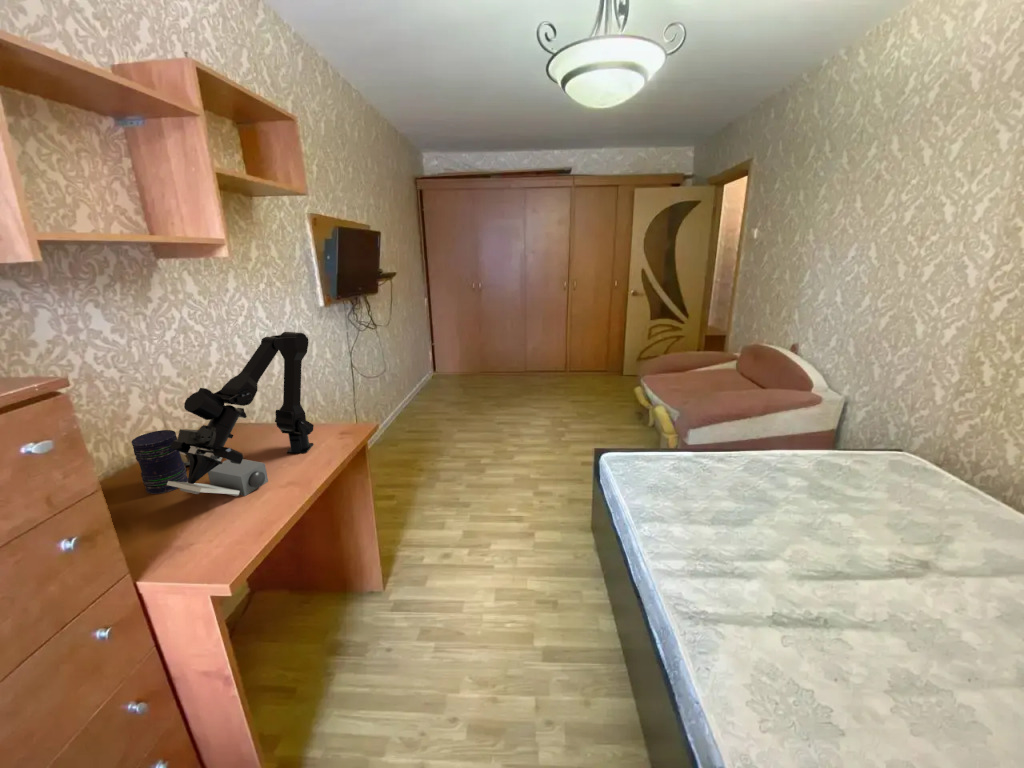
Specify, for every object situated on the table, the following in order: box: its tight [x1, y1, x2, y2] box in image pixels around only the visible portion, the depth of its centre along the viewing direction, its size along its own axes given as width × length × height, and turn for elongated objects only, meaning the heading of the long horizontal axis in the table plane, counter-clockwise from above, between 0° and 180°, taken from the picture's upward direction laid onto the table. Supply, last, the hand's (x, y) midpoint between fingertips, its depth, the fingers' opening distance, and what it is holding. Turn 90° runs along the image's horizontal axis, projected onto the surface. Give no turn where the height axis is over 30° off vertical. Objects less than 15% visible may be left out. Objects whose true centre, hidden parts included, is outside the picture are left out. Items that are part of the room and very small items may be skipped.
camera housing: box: [207, 458, 269, 497], centre depth 124 cm, size 8×13×6 cm, turn 73°
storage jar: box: [131, 429, 188, 495], centre depth 122 cm, size 10×10×15 cm
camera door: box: [167, 481, 240, 497], centre depth 114 cm, size 2×11×12 cm
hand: (190, 483), depth 110 cm, fingers closed
